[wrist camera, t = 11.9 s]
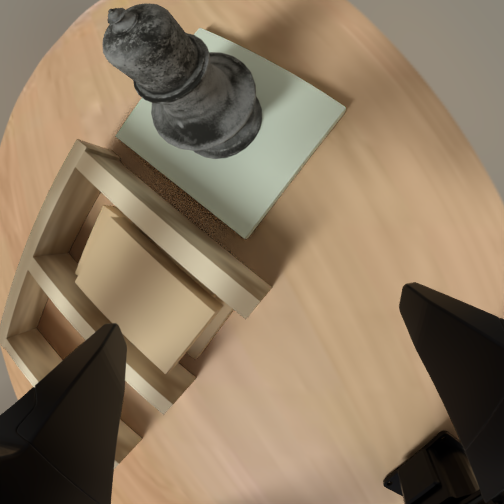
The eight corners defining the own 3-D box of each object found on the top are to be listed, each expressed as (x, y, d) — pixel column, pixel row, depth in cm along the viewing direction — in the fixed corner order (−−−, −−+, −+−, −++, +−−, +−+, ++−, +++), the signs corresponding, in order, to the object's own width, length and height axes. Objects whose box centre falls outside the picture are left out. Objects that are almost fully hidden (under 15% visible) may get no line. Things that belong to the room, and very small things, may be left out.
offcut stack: (248, 290, 20) (228, 306, 16) (200, 355, 21) (173, 382, 17) (132, 200, 22) (93, 194, 17) (97, 265, 22) (57, 272, 18)
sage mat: (345, 112, 18) (346, 107, 17) (247, 238, 20) (244, 238, 19) (203, 33, 19) (200, 27, 19) (121, 138, 21) (115, 136, 20)
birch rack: (274, 284, 20) (263, 297, 16) (135, 445, 23) (112, 470, 19) (111, 150, 21) (77, 138, 17) (26, 329, 25) (-4, 338, 21)
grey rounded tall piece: (228, 62, 18) (144, -63, 7) (287, 120, 18) (238, -16, 6) (161, 120, 20) (29, 42, 8) (212, 183, 19) (75, 128, 7)
